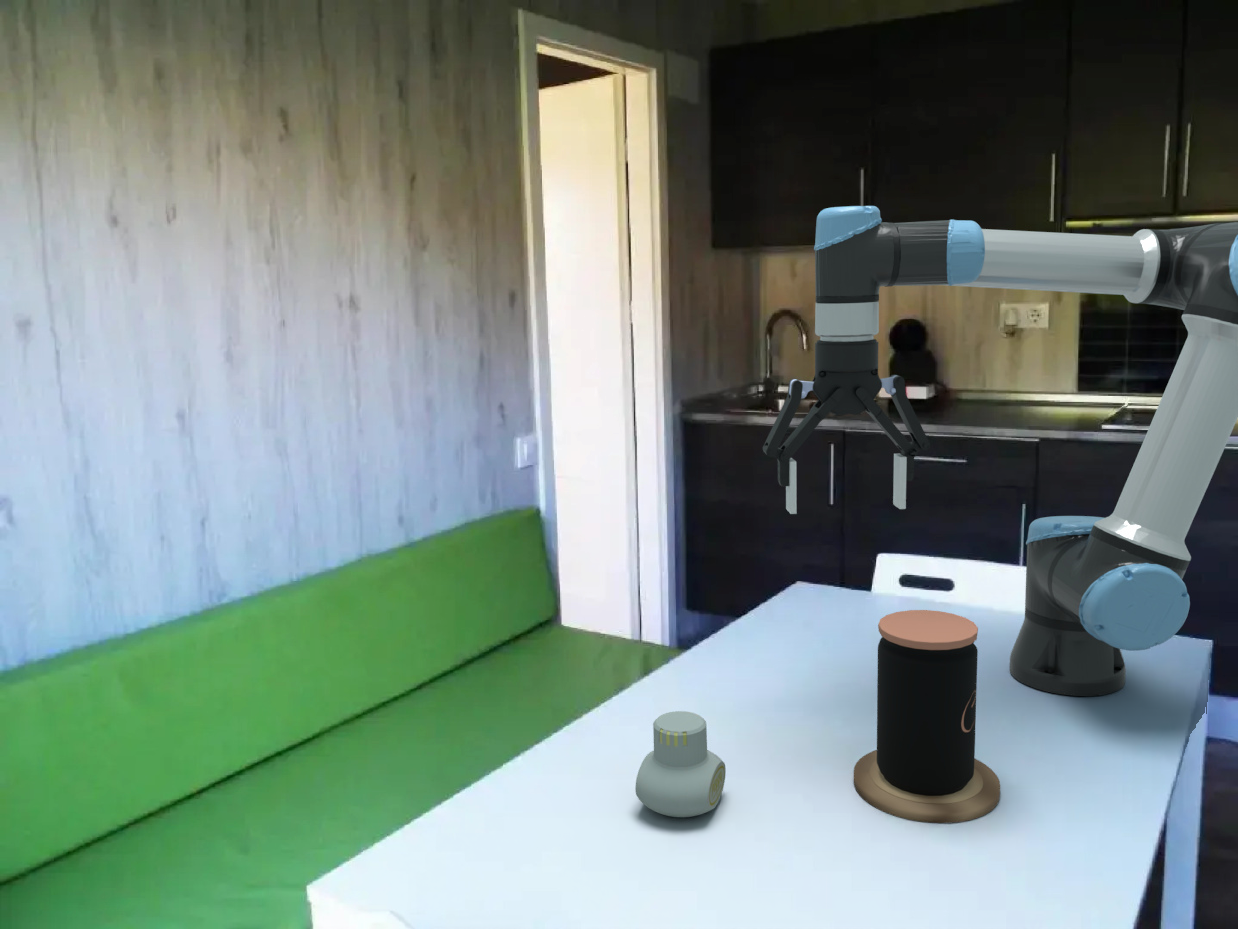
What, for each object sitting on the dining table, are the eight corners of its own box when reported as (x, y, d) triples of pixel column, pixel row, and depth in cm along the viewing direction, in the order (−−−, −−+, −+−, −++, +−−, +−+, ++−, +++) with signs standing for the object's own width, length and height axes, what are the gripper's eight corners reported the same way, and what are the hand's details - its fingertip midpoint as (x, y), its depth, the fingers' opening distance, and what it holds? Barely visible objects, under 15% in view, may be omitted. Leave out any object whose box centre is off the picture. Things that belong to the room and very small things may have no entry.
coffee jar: (979, 802, 114) (984, 644, 110) (877, 795, 116) (879, 640, 112) (968, 757, 124) (972, 611, 120) (875, 751, 126) (876, 608, 123)
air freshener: (662, 777, 124) (660, 697, 123) (730, 787, 122) (728, 706, 120) (630, 823, 114) (627, 737, 113) (703, 835, 112) (701, 747, 110)
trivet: (968, 751, 128) (968, 741, 128) (1024, 819, 112) (1024, 807, 112) (838, 757, 128) (838, 747, 127) (875, 827, 112) (876, 815, 112)
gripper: (937, 332, 131) (934, 498, 135) (739, 339, 130) (741, 506, 134) (959, 336, 124) (954, 511, 128) (749, 344, 123) (751, 520, 127)
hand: (845, 509), depth 131 cm, fingers open, 13 cm apart
